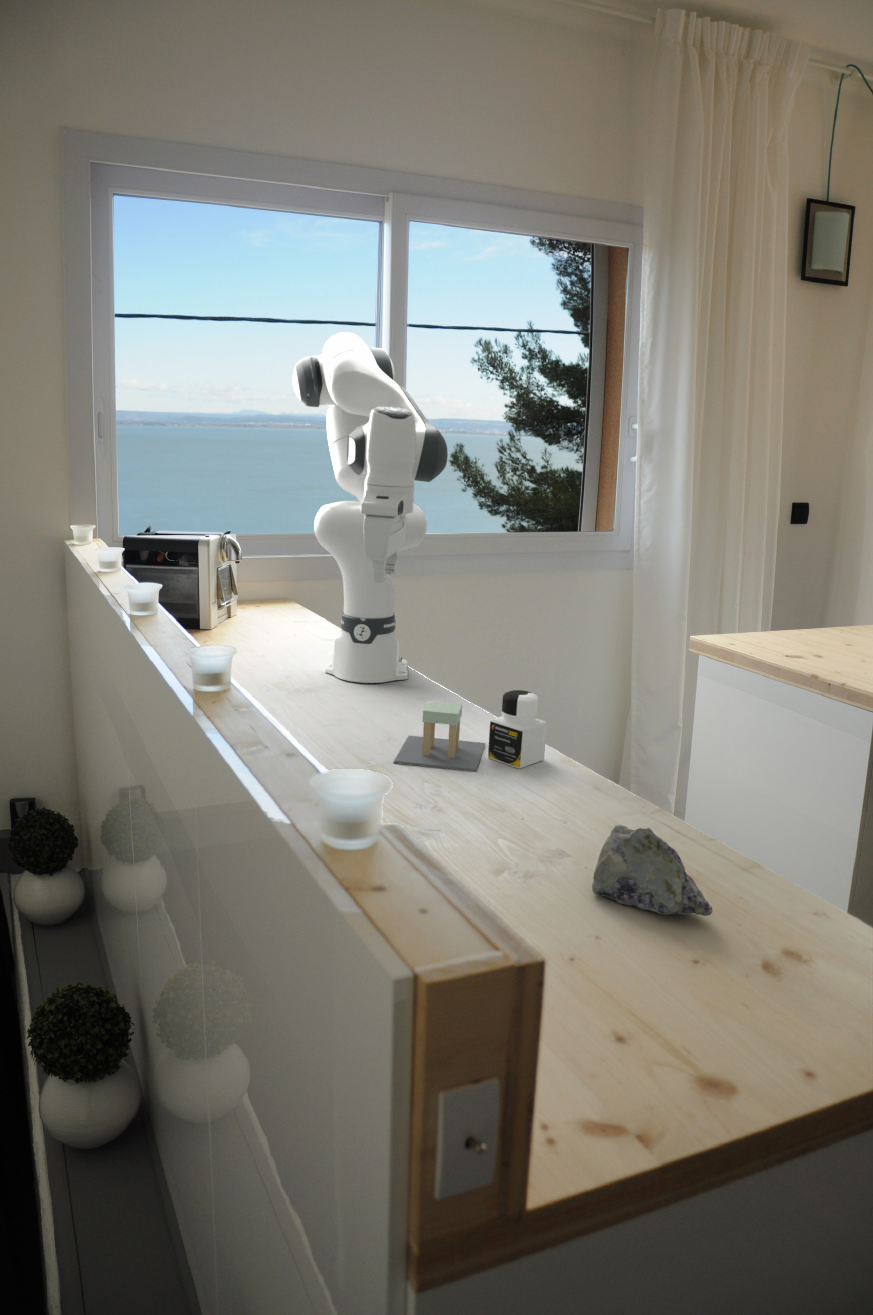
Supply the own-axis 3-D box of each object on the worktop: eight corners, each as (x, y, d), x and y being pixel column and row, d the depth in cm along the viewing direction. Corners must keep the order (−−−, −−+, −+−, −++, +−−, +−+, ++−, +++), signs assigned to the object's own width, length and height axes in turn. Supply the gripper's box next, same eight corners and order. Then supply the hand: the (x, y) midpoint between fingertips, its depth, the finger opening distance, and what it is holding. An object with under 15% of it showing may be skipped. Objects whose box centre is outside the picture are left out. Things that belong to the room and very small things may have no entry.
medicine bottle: (486, 758, 164) (491, 691, 161) (512, 749, 169) (517, 685, 166) (519, 769, 159) (524, 701, 156) (544, 760, 164) (550, 694, 162)
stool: (426, 744, 168) (428, 701, 166) (459, 747, 167) (462, 704, 166) (420, 755, 162) (423, 710, 161) (455, 758, 162) (458, 713, 160)
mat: (408, 737, 173) (408, 735, 173) (485, 745, 171) (485, 742, 171) (393, 763, 159) (393, 760, 159) (476, 771, 157) (476, 769, 157)
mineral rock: (715, 929, 111) (726, 850, 108) (635, 941, 107) (644, 860, 105) (655, 879, 122) (664, 807, 120) (581, 889, 119) (588, 814, 116)
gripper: (382, 495, 178) (379, 567, 182) (358, 504, 159) (355, 586, 162) (415, 497, 178) (411, 570, 181) (395, 507, 158) (391, 589, 162)
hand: (384, 578), depth 172 cm, fingers open, 8 cm apart
